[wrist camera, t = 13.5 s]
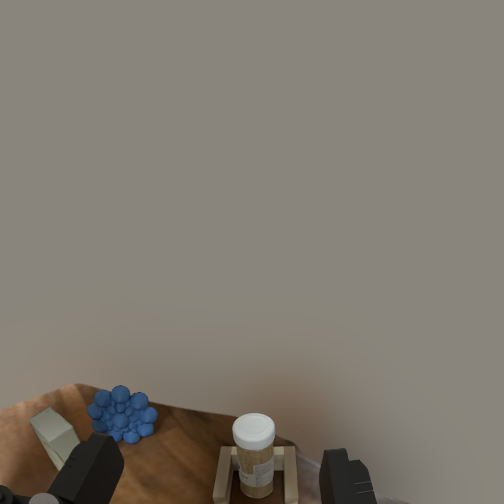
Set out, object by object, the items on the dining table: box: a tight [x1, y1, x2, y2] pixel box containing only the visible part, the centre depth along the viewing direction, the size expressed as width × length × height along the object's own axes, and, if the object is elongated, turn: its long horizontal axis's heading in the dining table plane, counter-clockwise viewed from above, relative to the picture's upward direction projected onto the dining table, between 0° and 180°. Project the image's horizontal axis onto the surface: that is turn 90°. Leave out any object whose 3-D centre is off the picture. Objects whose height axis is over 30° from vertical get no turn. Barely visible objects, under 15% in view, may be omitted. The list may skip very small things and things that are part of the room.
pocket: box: [213, 446, 298, 504], centre depth 33 cm, size 10×9×4 cm
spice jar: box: [233, 413, 275, 498], centre depth 31 cm, size 5×5×13 cm
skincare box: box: [28, 407, 80, 471], centre depth 30 cm, size 6×4×12 cm
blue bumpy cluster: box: [87, 385, 158, 444], centre depth 40 cm, size 12×7×12 cm, turn 100°
